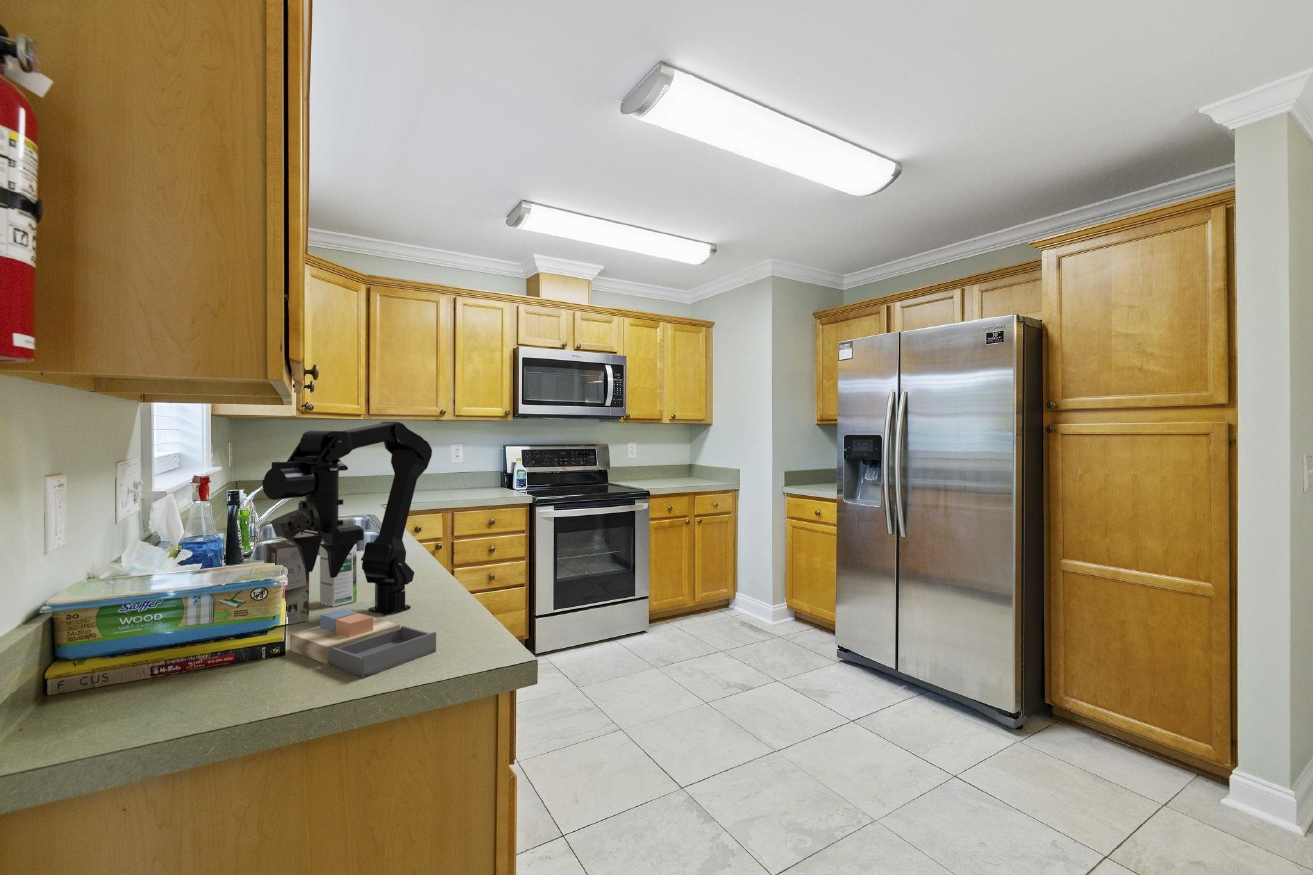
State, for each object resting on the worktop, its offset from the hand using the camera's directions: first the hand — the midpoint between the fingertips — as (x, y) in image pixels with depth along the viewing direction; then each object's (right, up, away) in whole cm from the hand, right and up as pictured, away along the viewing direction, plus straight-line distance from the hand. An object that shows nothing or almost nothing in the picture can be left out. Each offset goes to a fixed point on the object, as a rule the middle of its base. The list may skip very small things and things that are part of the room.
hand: (321, 574), depth 115 cm
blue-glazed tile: (+5, -9, -3) cm, 11 cm away
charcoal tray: (+17, -12, -10) cm, 24 cm away
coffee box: (-13, -12, +10) cm, 20 cm away
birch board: (+7, -12, -5) cm, 15 cm away
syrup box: (-9, -12, +23) cm, 27 cm away
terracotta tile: (+9, -9, -6) cm, 14 cm away
